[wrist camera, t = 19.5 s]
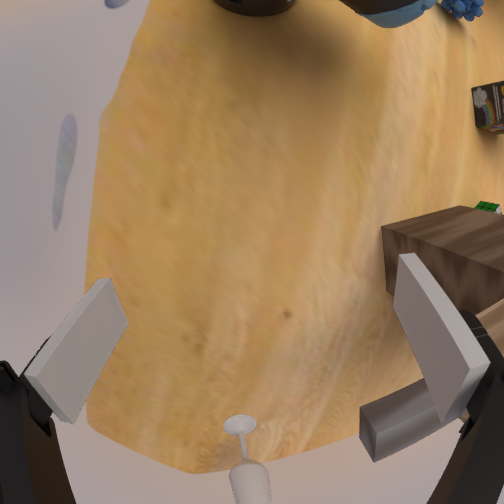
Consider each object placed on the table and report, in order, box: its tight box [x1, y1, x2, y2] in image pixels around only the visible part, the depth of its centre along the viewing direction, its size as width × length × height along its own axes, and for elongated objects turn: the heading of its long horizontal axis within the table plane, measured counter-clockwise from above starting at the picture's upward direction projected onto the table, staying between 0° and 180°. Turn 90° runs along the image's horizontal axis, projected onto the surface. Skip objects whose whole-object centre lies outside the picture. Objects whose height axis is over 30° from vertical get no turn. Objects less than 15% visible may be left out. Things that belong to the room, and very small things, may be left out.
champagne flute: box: [223, 415, 272, 504], centre depth 43 cm, size 7×7×24 cm
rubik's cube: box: [475, 201, 502, 214], centre depth 48 cm, size 6×6×6 cm
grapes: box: [441, 0, 484, 21], centre depth 33 cm, size 12×7×12 cm, turn 66°
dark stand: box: [381, 206, 504, 315], centre depth 36 cm, size 12×20×30 cm, turn 102°
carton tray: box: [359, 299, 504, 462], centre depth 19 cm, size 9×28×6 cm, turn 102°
